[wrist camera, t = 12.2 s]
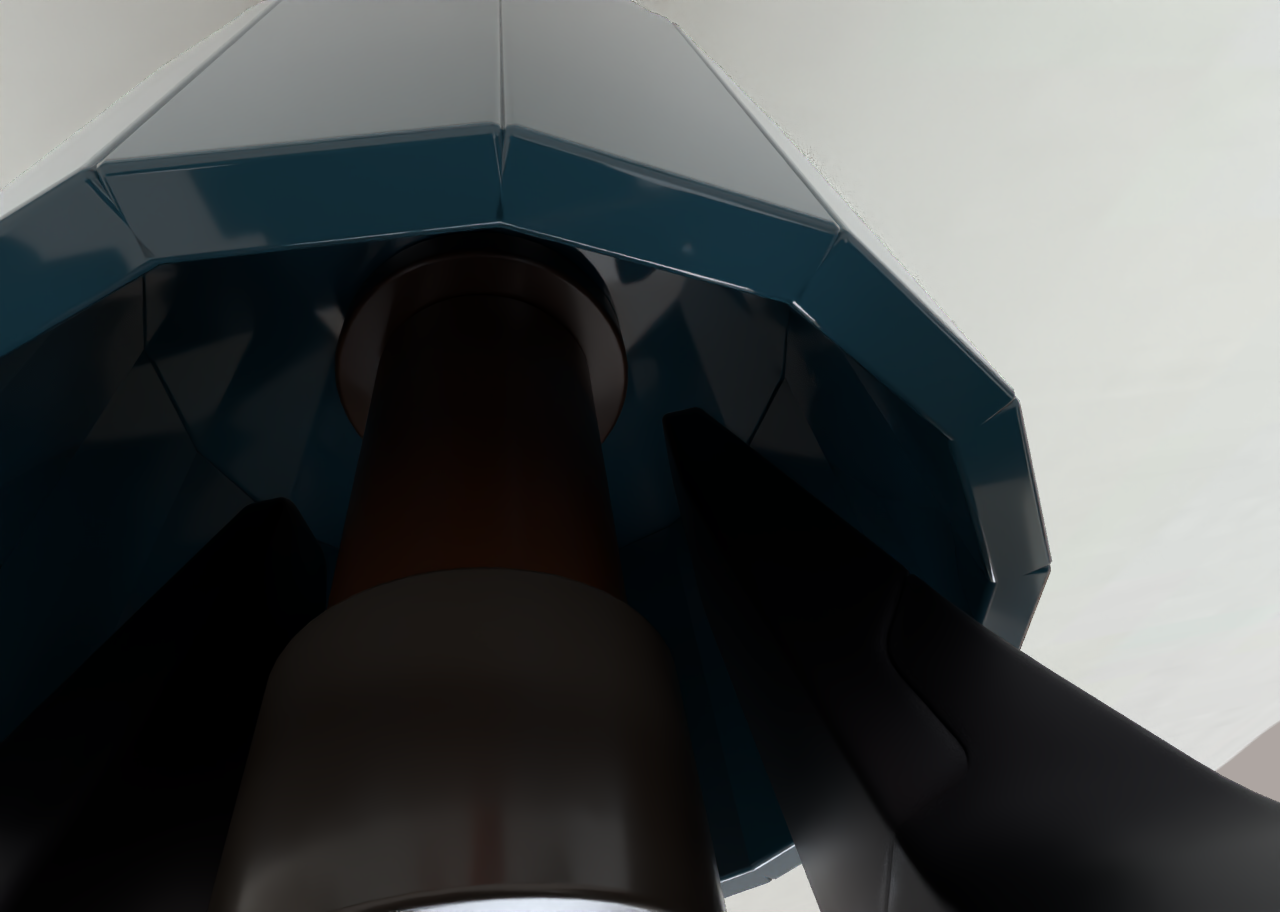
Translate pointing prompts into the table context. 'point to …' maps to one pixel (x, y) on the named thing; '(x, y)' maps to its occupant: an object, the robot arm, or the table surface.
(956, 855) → the robot arm
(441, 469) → the flanged grey cylinder
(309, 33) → the faceted blue grey bowl
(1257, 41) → the table surface
